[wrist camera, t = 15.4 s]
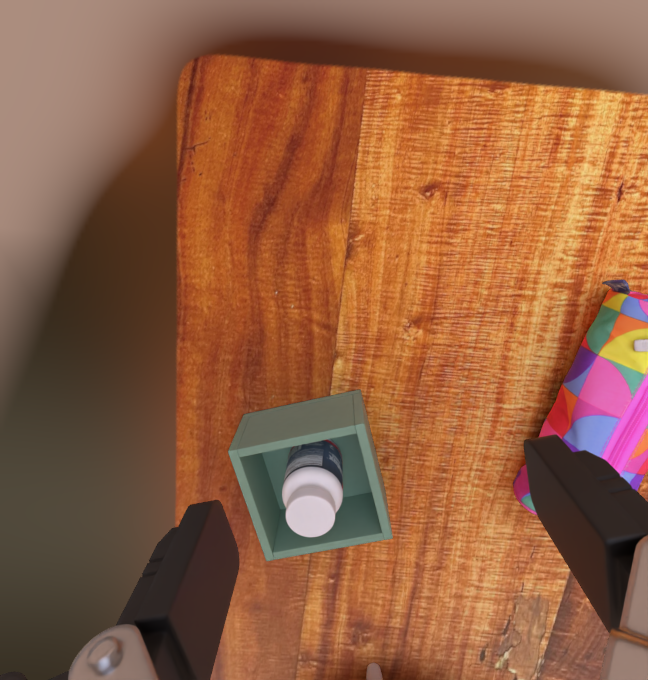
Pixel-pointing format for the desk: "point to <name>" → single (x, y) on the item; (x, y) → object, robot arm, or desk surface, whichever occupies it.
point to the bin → (271, 461)
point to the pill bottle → (313, 487)
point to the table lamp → (373, 672)
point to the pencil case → (605, 391)
